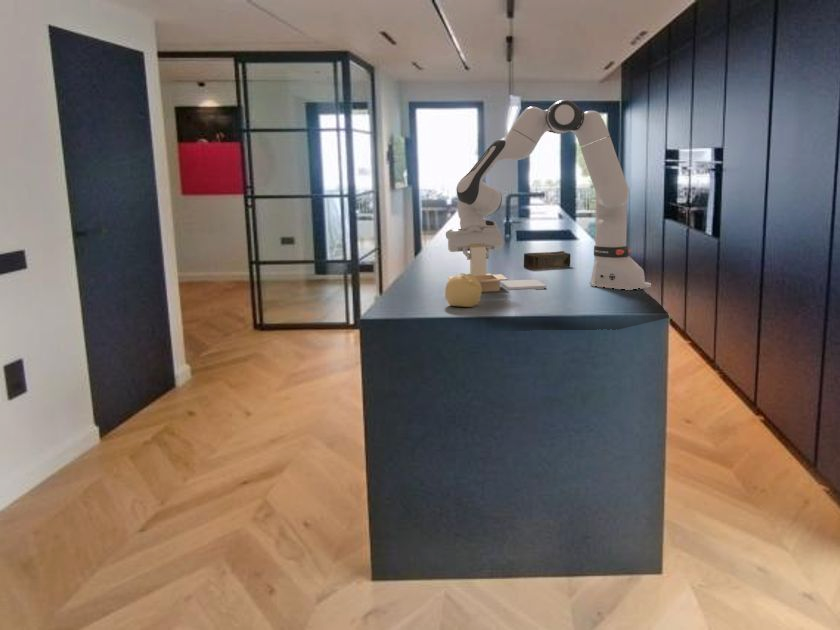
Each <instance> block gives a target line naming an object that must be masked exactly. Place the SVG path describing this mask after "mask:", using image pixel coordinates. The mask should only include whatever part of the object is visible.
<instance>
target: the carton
mask: <svg viewBox="0 0 840 630" xmlns="http://www.w3.org/2000/svg"><path fill="white" fill-rule="evenodd" d="M457 275H458V274H455V275H452V276H449V275H448V276H447V278H448V279H449V280H450V279H451V278H453V277H454V276H457ZM474 277H476V278H477V279H478V282H479V283H481V287H482V292H481V293H483V292H500V290H501V288H500V287H501V283H500V281H509V278H507V277H506V276H504V275H503V274H500V273H499V274H491V273H490V272H489V273H486V275H479V276H474Z"/></svg>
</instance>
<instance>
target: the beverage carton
mask: <svg viewBox="0 0 840 630" xmlns="http://www.w3.org/2000/svg"><path fill="white" fill-rule="evenodd" d="M569 266H571V253H568V252H565V251H564V250H560V251H549V252H546V251H545V252H527V253H526V252H525V253H523V268H526V269H528V270H541V269H542V268H545V269H554V268H555V269H559V268H558V267H560V268H568V267H569ZM569 268H570V267H569ZM542 270H543V269H542Z"/></svg>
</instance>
